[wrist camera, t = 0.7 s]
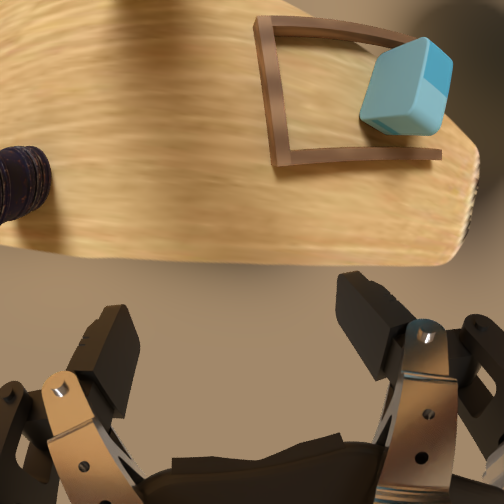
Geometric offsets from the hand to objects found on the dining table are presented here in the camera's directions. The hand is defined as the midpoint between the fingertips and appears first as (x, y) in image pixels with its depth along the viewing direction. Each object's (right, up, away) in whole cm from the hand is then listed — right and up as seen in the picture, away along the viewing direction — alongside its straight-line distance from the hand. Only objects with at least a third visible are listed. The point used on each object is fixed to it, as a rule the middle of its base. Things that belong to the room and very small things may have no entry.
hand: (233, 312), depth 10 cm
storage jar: (-31, +13, +19) cm, 39 cm away
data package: (+19, +25, +21) cm, 38 cm away
